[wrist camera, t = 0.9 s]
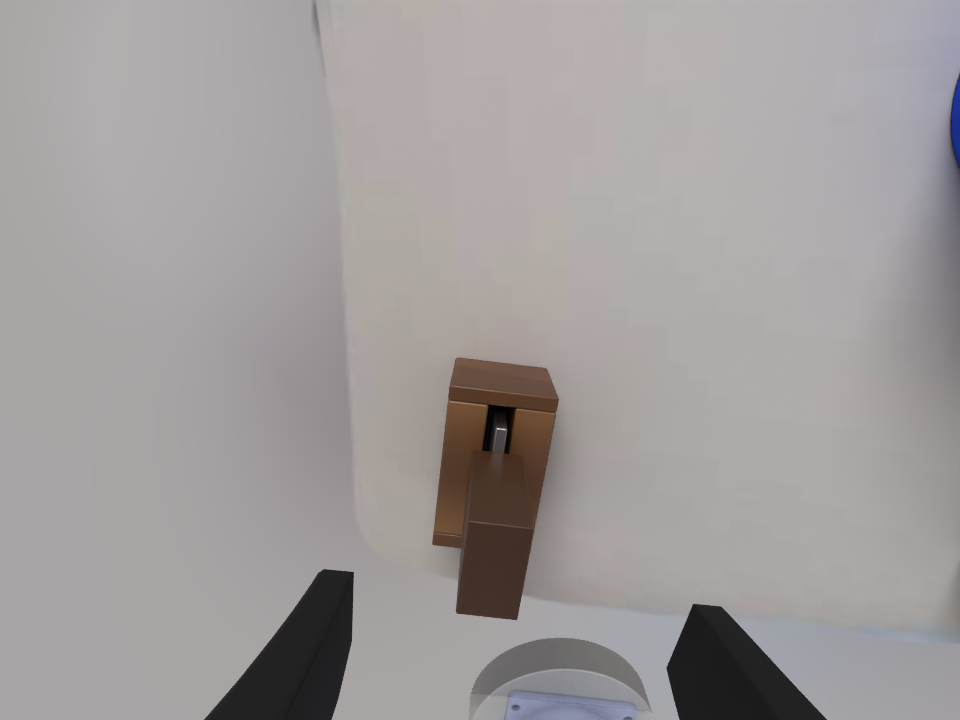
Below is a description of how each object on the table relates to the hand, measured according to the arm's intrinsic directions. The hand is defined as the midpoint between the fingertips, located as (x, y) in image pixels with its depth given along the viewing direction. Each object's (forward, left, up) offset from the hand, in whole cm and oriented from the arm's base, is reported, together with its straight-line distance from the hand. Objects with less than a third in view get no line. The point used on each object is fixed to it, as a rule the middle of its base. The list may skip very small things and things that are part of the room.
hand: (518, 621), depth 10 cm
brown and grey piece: (-1, 0, -11) cm, 11 cm away
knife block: (-1, 0, -11) cm, 11 cm away
